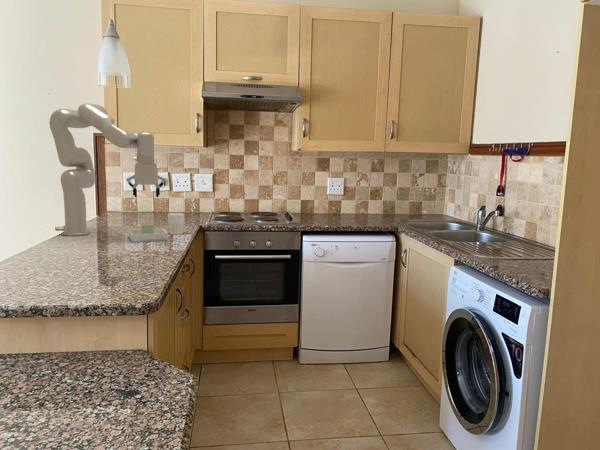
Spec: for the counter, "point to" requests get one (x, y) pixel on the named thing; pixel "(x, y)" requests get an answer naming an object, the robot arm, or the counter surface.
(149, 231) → the green block
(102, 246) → the counter surface
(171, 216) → the white cup
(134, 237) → the white bin
